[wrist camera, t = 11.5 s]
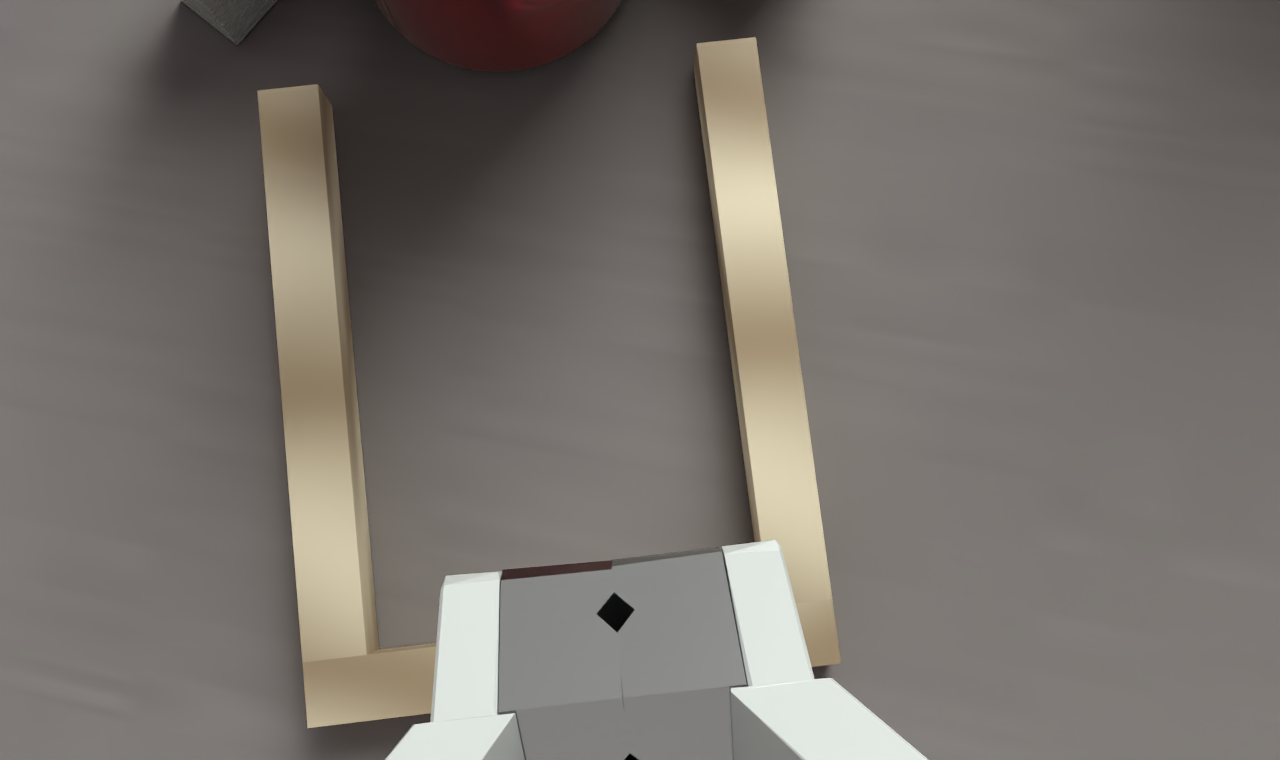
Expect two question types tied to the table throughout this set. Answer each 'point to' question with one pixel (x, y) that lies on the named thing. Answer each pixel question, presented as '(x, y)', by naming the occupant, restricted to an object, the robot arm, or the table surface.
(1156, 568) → the table surface
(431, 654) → the guide channel
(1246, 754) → the table surface
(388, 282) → the table surface
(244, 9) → the corner stop
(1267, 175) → the table surface
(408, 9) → the soda can
